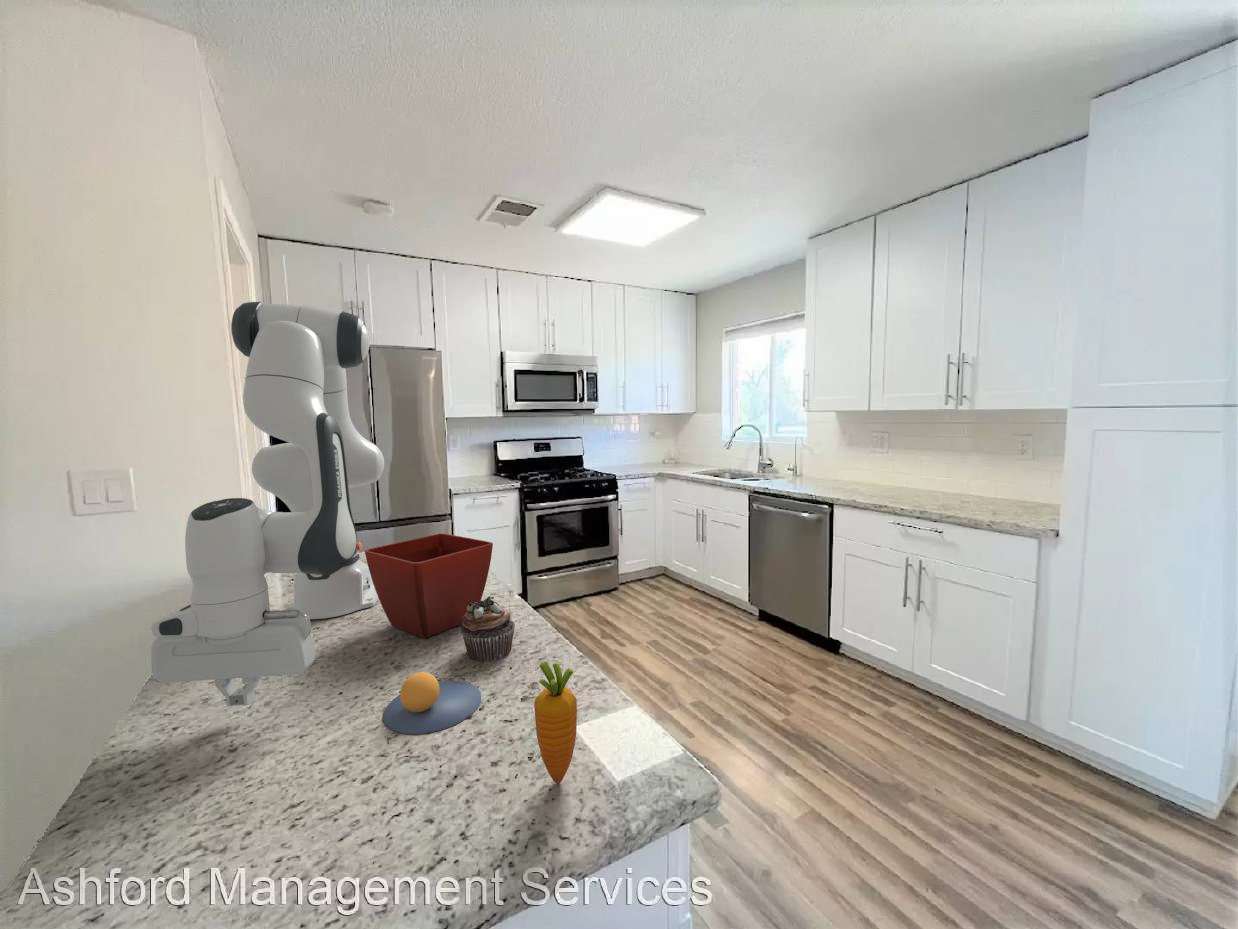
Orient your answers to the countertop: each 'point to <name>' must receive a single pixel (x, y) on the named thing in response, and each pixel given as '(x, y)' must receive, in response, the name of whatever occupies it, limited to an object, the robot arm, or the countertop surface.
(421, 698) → the ball
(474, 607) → the cupcake
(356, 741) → the countertop surface
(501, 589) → the countertop surface
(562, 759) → the carrot
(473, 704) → the disc
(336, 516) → the robot arm
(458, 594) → the plant pot
